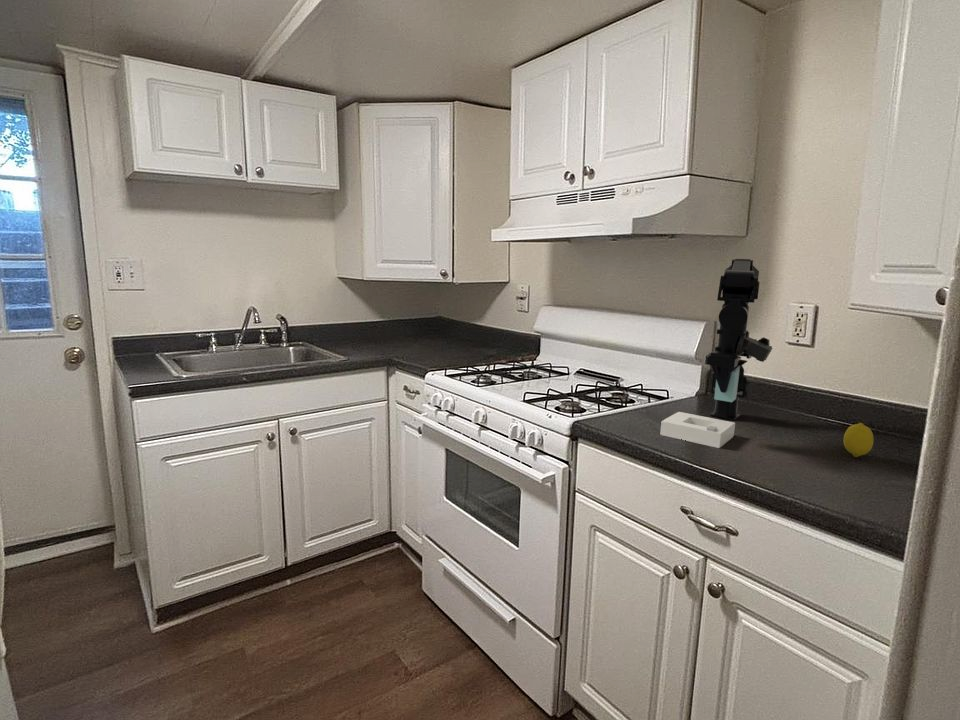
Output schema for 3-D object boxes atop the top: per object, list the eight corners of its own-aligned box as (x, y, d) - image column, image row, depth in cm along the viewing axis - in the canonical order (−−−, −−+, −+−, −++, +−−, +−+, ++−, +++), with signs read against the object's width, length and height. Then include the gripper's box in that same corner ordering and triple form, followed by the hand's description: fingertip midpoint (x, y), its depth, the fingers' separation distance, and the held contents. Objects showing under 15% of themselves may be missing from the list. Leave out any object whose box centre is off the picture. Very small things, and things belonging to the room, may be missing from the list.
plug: (718, 396, 135) (722, 363, 134) (736, 399, 133) (739, 366, 131) (714, 399, 132) (717, 366, 130) (731, 402, 130) (735, 368, 128)
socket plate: (677, 424, 146) (678, 409, 145) (733, 436, 138) (735, 420, 137) (660, 434, 137) (661, 418, 136) (719, 448, 128) (721, 431, 128)
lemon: (865, 454, 127) (871, 421, 126) (873, 463, 122) (879, 428, 120) (838, 451, 129) (843, 418, 127) (844, 459, 124) (850, 424, 122)
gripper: (763, 333, 117) (754, 404, 120) (778, 325, 132) (770, 389, 135) (708, 327, 124) (701, 395, 127) (729, 321, 138) (722, 382, 141)
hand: (725, 390), depth 132 cm, fingers closed on plug, 4 cm apart
